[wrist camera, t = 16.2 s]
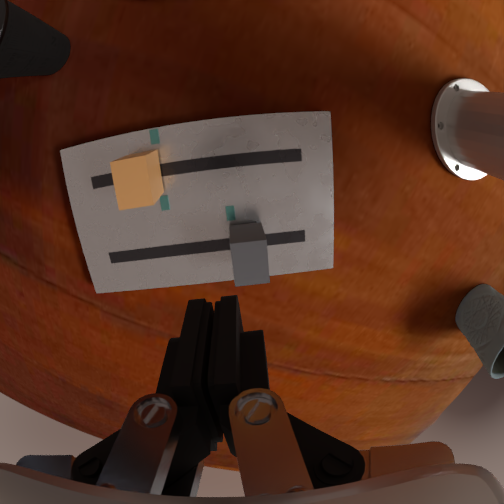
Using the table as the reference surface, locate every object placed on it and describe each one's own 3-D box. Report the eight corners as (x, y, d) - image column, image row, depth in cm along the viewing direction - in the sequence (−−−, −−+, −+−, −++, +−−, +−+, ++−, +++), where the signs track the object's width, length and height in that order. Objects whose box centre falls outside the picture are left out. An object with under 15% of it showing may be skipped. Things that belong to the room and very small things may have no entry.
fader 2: (261, 222, 30) (266, 239, 26) (264, 260, 31) (269, 282, 27) (229, 225, 30) (229, 243, 26) (233, 264, 31) (235, 286, 27)
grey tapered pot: (492, 315, 42) (531, 356, 31) (449, 342, 43) (485, 390, 32) (496, 269, 38) (544, 309, 27) (450, 296, 39) (497, 346, 28)
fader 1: (157, 149, 26) (145, 155, 22) (164, 192, 28) (153, 205, 24) (126, 155, 26) (109, 162, 22) (133, 196, 28) (119, 210, 24)
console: (323, 111, 28) (330, 111, 26) (327, 259, 35) (333, 268, 33) (68, 147, 27) (59, 150, 25) (102, 284, 34) (96, 293, 32)
